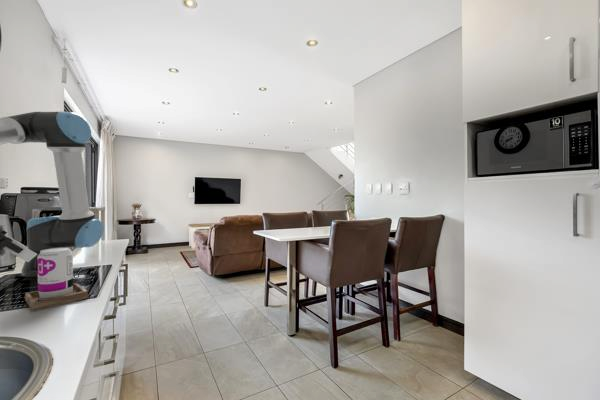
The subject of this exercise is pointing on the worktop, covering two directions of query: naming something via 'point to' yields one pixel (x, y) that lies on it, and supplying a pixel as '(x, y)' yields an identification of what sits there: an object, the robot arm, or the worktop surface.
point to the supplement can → (55, 273)
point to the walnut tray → (38, 304)
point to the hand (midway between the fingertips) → (28, 254)
